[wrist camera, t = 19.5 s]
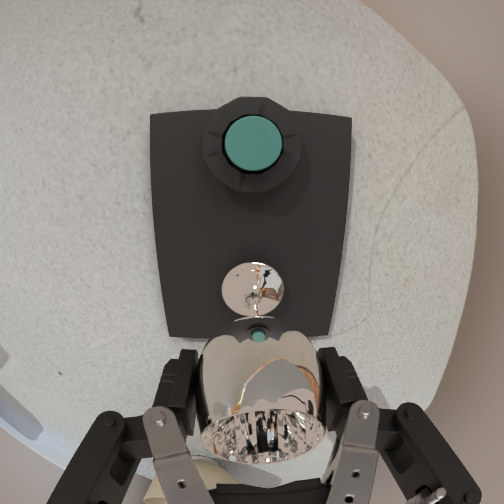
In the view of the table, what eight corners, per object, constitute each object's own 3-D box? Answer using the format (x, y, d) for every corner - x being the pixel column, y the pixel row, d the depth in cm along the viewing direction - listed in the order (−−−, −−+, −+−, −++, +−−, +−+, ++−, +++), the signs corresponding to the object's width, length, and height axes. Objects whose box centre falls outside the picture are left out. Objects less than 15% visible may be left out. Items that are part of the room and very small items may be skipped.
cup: (139, 473, 38) (131, 510, 28) (161, 486, 41) (156, 520, 31) (111, 470, 38) (103, 503, 29) (134, 484, 41) (127, 515, 32)
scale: (156, 109, 17) (142, 103, 14) (345, 112, 18) (361, 107, 15) (172, 327, 24) (165, 348, 21) (324, 326, 24) (332, 346, 21)
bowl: (164, 472, 37) (158, 513, 27) (141, 435, 31) (128, 488, 22) (247, 478, 37) (249, 521, 28) (248, 444, 32) (250, 502, 22)
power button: (226, 119, 15) (225, 115, 14) (278, 120, 15) (282, 116, 14) (226, 169, 16) (224, 170, 15) (277, 169, 17) (281, 171, 15)
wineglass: (269, 332, 21) (288, 473, 10) (200, 305, 20) (169, 451, 9) (307, 272, 19) (371, 410, 8) (232, 238, 18) (220, 377, 7)
